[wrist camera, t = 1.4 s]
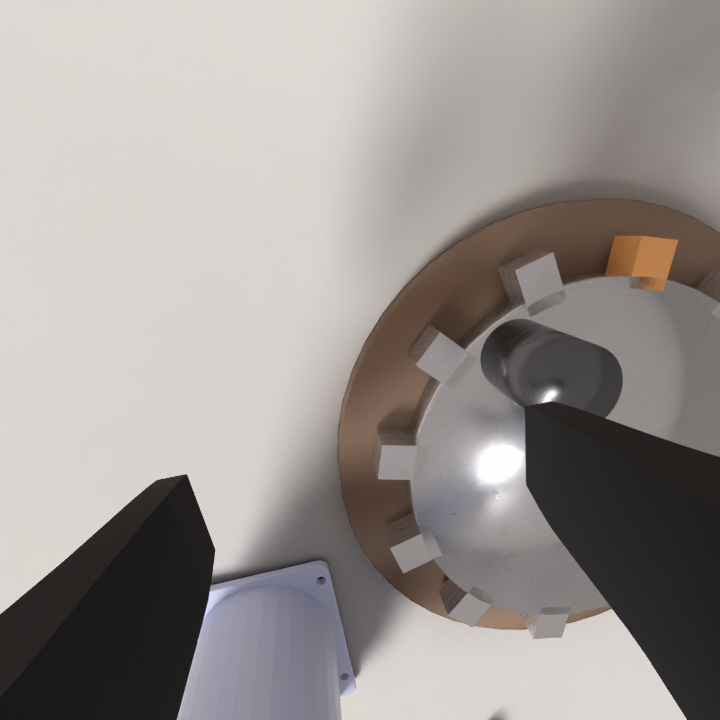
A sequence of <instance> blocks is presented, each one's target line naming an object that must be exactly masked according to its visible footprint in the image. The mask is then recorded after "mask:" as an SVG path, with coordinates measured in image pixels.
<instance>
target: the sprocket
mask: <svg viewBox="0 0 720 720" xmlns="http://www.w3.org/2000/svg"><path fill="white" fill-rule="evenodd" d="M677 243H678V240H675V239H666V238H657V237H648V236H614V240H613V244H612V248H611V252H610V256H609V260H608V264H607V268H606V272H605V273H595V274H586V275H578V276H572V277H568V278H564V279H561V277H560V274H559V270H558V267H557V263H556V260H555V256H554V253H553V252H544V251H531V252H529V253H527V254H525V255H523V256H521V257H518V258H516V259H514V260H512V261H510V262H508V263H506V264H504V265H502V266H500V267H498V270H499V273H500V276H501V279H502V282H503V285H504V288H505V291H506V294H507V297H508V300H509V301H508V302H507V303H505V304H503V305H501V306H500V307H499V308H497V309H496V310H495V311H493V312H492V313H490V314H489V315H488V316H486V317H485V318H483V319H482V320H481V321H480V322H479V323H477V324H476V325H475V326H474V327H473V328H472V329H471V330H470V331H469V332H468V333H467V334H465V335H464V336H463V337H462V338H461V339H460V340H459V342H458V343H457V344H456V343H455V342H453V341H452V340H451V339H449V338H448V337H446V336H445V335H444V334H442V333H441V332H439V331H438V330H437V329H435V328H434V327H432V326H431V325H430V324H429V325H428V326H427V328H426V329H425V330H424V332H423V333H422V334H421V336H420V337H419V338H418V340H417V341H416V342H415V344H414V345H413V346H412V348H411V349H410V351H409V352H408V353H407V356H408V357H409V358H410V359H411V361H412V362H413V363H414V364H415V365H416V366H417V367H419V368H420V369H422V370H423V371H425V372H426V373H428V374H429V375H431V376H432V377H431V379H430V380H429V382H428V384H427V386H426V388H425V390H424V392H423V394H422V396H421V398H420V400H419V403H418V405H417V408H416V411H415V414H414V417H413V419H412V422H411V426H410V430H389V429H376V432H375V441H374V449H373V458H372V462H373V466H374V469H375V472H376V475H377V478H378V479H388V480H406V489H407V494H408V498H409V502H410V507H411V510H412V512H413V513H411V514H409V515H407V516H405V517H402V518H400V519H398V520H396V521H394V522H392V523H390V524H388V525H386V526H384V529H385V533H386V537H387V540H388V544H389V547H390V550H391V552H392V553H393V555H394V557H395V559H396V561H397V563H398V565H399V566H400V568H401V570H402V572H403V573H405V572H407V571H410V570H412V569H414V568H416V567H418V566H420V565H422V564H424V563H426V562H429V561H431V560H433V559H434V560H435V562H436V564H437V565H438V566H439V567H440V568H441V569H442V571H443V572H444V573H445V574H446V575H447V576H448V578H449V579H448V580H447V581H446V582H445V584H444V585H443V586H442V587H441V588H440V589H439V593H440V596H441V598H442V601H443V604H444V606H445V609H446V612H447V614H448V616H450V617H452V618H454V619H456V620H458V621H460V622H463V623H465V624H467V625H469V626H471V627H473V626H474V625H475V623H476V622H477V621H478V620H479V619H480V618H481V617H482V616H483V614H484V613H485V612H486V611H487V610H488V609H489V608H490V607H491V605H493V606H495V607H498V608H501V609H505V610H509V611H513V612H517V613H519V614H520V616H521V618H522V620H523V621H524V623H525V625H526V627H527V628H528V630H529V632H530V634H531V635H532V637H533V639H538V638H558V637H562V635H563V631H564V628H565V625H566V621H567V618H568V614H571V613H578V612H583V611H588V610H593V609H596V608H600V607H603V606H606V605H609V604H608V603H607V601H606V600H605V599H604V597H603V596H602V595H601V593H600V592H599V591H598V590H597V588H596V587H595V586H594V584H593V583H592V582H591V580H590V579H589V578H588V576H587V575H586V574H585V572H584V571H583V570H582V569H581V567H580V566H579V565H578V563H577V562H576V561H575V559H574V558H573V557H572V555H571V554H570V553H569V551H568V550H567V549H566V547H565V546H564V545H563V543H562V542H561V541H560V539H559V538H558V537H557V535H556V534H555V533H554V531H553V530H552V528H551V527H550V526H549V524H548V522H547V521H546V519H545V517H544V516H543V514H542V512H541V511H540V509H539V507H538V505H537V504H536V502H535V500H534V498H533V496H532V495H531V493H530V491H529V489H528V488H527V486H526V459H525V406H530V405H535V404H540V403H545V402H550V401H554V402H558V403H562V404H565V405H568V406H571V407H575V408H578V409H580V410H583V411H586V412H589V413H592V414H595V415H598V416H600V417H603V418H606V419H609V420H612V421H614V422H617V423H620V424H623V425H626V426H628V427H631V428H634V429H637V430H640V431H642V432H645V433H648V434H651V435H654V436H657V437H660V438H663V439H665V440H668V441H671V442H674V443H677V444H680V445H683V446H686V447H689V448H693V449H696V450H699V451H702V452H705V453H709V454H712V455H715V456H718V457H720V270H713V269H712V270H711V271H710V272H709V273H708V275H707V276H706V277H705V278H704V279H703V280H702V282H701V283H700V284H699V285H698V286H697V287H696V289H694V288H691V287H689V286H686V285H683V284H680V283H677V282H674V281H670V280H667V277H668V274H669V270H670V267H671V264H672V260H673V257H674V253H675V250H676V246H677Z"/></svg>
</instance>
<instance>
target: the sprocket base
mask: <svg viewBox="0 0 720 720" xmlns="http://www.w3.org/2000/svg"><path fill="white" fill-rule="evenodd" d="M614 236H648V237H657V238H666V239H675V240H678V243H677V246H676V250H675V253H674V257H673V260H672V264H671V267H670V270H669V274H668V277H667V280H670V281H674V282H677V283H680V284H683V285H686V286H689V287H691V288H694V289H696V287H697V286H698V285H699V284H700V283H701V282H702V280H703V279H704V278H705V277H706V276H707V275H708V273H709V272H710V271H711V270H712V269H713V270H720V233H718V232H717V231H715V230H713V229H712V228H710V227H709V226H707V225H705V224H704V223H702V222H700V221H699V220H697V219H695V218H694V217H691V216H688V215H686V214H683V213H681V212H678V211H676V210H673V209H671V208H668V207H665V206H660V205H655V204H651V203H646V202H641V201H636V200H618V199H596V200H586V201H576V202H567V203H559V204H552V205H548V206H544V207H540V208H536V209H532V210H527V211H523V212H520V213H517V214H515V215H512V216H510V217H507V218H505V219H502V220H500V221H497V222H495V223H492V224H490V225H487V226H486V227H484V228H482V229H480V230H479V231H477V232H475V233H473V234H471V235H470V236H468V237H466V238H464V239H462V240H461V241H459V242H457V243H456V244H455V245H453V246H452V247H451V248H449V249H448V250H446V251H445V252H444V253H442V254H441V255H440V256H438V257H437V258H436V259H434V260H433V261H432V262H430V263H429V264H428V265H427V266H426V267H425V268H424V269H423V270H422V271H421V272H420V273H419V274H418V275H417V276H415V277H414V278H413V279H412V280H411V281H410V282H409V283H408V284H407V285H406V286H405V287H404V288H403V289H402V291H401V292H400V293H399V294H398V296H397V297H396V298H395V299H394V300H393V302H392V303H391V304H390V305H389V307H388V308H387V309H386V310H385V312H384V313H383V314H382V316H381V317H380V319H379V321H378V322H377V324H376V325H375V327H374V329H373V330H372V332H371V333H370V335H369V337H368V338H367V340H366V341H365V343H364V346H363V348H362V350H361V352H360V354H359V357H358V359H357V361H356V363H355V365H354V367H353V370H352V372H351V375H350V379H349V382H348V385H347V388H346V392H345V395H344V398H343V402H342V409H341V415H340V421H339V427H338V465H339V473H340V480H341V488H342V494H343V500H344V503H345V506H346V510H347V513H348V517H349V520H350V524H351V526H352V528H353V530H354V532H355V535H356V537H357V539H358V541H359V543H360V545H361V547H362V549H363V550H364V552H365V553H366V555H367V556H368V558H369V559H370V561H371V562H372V564H373V565H374V566H375V568H376V569H377V570H378V571H379V572H380V573H381V574H382V575H383V576H384V577H385V579H386V580H387V581H388V582H389V583H390V584H391V585H392V586H393V587H395V588H396V589H397V590H398V591H400V592H401V593H402V594H404V595H405V596H406V597H407V598H409V599H410V600H411V601H413V602H415V603H417V604H418V605H420V606H422V607H424V608H425V609H427V610H429V611H431V612H433V613H436V614H438V615H441V616H443V617H446V618H448V619H451V620H453V621H457V622H460V621H458V620H456V619H454V618H452V617H450V616H448V614H447V612H446V609H445V606H444V604H443V601H442V598H441V596H440V593H439V589H440V588H441V587H442V586H443V585H444V584H445V582H446V581H447V580H448V579H449V578H448V576H447V575H446V574H445V573H444V572H443V571H442V569H441V568H440V567H439V566H438V565H437V564H436V562H435V560H434V559H433V560H431V561H429V562H426V563H424V564H422V565H420V566H418V567H416V568H414V569H412V570H410V571H407V572H405V573H403V572H402V570H401V568H400V566H399V565H398V563H397V561H396V559H395V557H394V555H393V553H392V552H391V550H390V547H389V544H388V540H387V537H386V533H385V529H384V526H386V525H388V524H390V523H392V522H394V521H396V520H398V519H400V518H402V517H405V516H407V515H409V514H411V513H413V512H412V510H411V507H410V502H409V498H408V494H407V489H406V480H388V479H378V478H377V475H376V472H375V469H374V466H373V462H372V458H373V449H374V441H375V432H376V429H389V430H410V426H411V422H412V419H413V417H414V414H415V411H416V408H417V405H418V403H419V400H420V398H421V396H422V394H423V392H424V390H425V388H426V386H427V384H428V382H429V380H430V379H431V377H432V376H431V375H429V374H428V373H426V372H425V371H423V370H422V369H420V368H419V367H417V366H416V365H415V364H414V363H413V362H412V361H411V359H410V358H409V357H408V356H407V353H408V352H409V351H410V349H411V348H412V346H413V345H414V344H415V342H416V341H417V340H418V338H419V337H420V336H421V334H422V333H423V332H424V330H425V329H426V328H427V326H428V325H429V324H430V325H431V326H432V327H434V328H435V329H437V330H438V331H439V332H441V333H442V334H444V335H445V336H446V337H448V338H449V339H451V340H452V341H453V342H455V343H456V344H457V343H458V342H459V340H460V339H461V338H462V337H463V336H464V335H465V334H467V333H468V332H469V331H470V330H471V329H472V328H473V327H474V326H475V325H476V324H477V323H479V322H480V321H481V320H482V319H483V318H485V317H486V316H488V315H489V314H490V313H492V312H493V311H495V310H496V309H497V308H499V307H500V306H501V305H503V304H505V303H507V302H508V301H509V300H508V297H507V294H506V291H505V288H504V285H503V282H502V279H501V276H500V273H499V270H498V267H500V266H502V265H504V264H506V263H508V262H510V261H512V260H514V259H516V258H518V257H521V256H523V255H525V254H527V253H529V252H531V251H544V252H553V253H554V256H555V260H556V263H557V267H558V270H559V274H560V277H561V279H564V278H568V277H572V276H578V275H586V274H595V273H605V272H606V268H607V264H608V260H609V256H610V252H611V248H612V244H613V240H614ZM610 609H612V608H611V607H610V605H606V606H603V607H600V608H596V609H593V610H588V611H583V612H578V613H571V614H568V618H567V621H566V624H567V623H572V622H575V621H579V620H582V619H585V618H588V617H592V616H595V615H598V614H600V613H603V612H605V611H608V610H610ZM461 623H463V622H461ZM474 626H477V627H485V628H493V629H515V630H525V629H528V628H527V627H526V625H525V623H524V621H523V620H522V618H521V616H520V614H519V613H517V612H513V611H509V610H505V609H501V608H498V607H495V606H493V605H491V607H490V608H489V609H488V610H487V611H486V612H485V613H484V614H483V616H482V617H481V618H480V619H479V620H478V621H477V622H476V623H475V625H474Z"/></svg>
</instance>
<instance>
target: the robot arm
mask: <svg viewBox="0 0 720 720" xmlns="http://www.w3.org/2000/svg"><path fill="white" fill-rule="evenodd" d="M525 459H526V486H527V488H528V489H529V491H530V493H531V495H532V496H533V498H534V500H535V502H536V504H537V505H538V507H539V509H540V511H541V512H542V514H543V516H544V517H545V519H546V521H547V522H548V524H549V526H550V527H551V528H552V530H553V531H554V533H555V534H556V535H557V537H558V538H559V539H560V541H561V542H562V543H563V545H564V546H565V547H566V549H567V550H568V551H569V553H570V554H571V555H572V557H573V558H574V559H575V561H576V562H577V563H578V565H579V566H580V567H581V569H582V570H583V571H584V572H585V574H586V575H587V576H588V578H589V579H590V580H591V582H592V583H593V584H594V586H595V587H596V588H597V590H598V591H599V592H600V593H601V595H602V596H603V597H604V599H605V600H606V601H607V603H608V604H609V605H610V607H611V608H612V609H613V610H614V612H615V613H616V614H617V616H618V617H619V618H620V620H621V621H622V622H623V624H624V625H625V626H626V628H627V629H628V630H629V632H630V633H631V635H632V636H633V637H634V639H635V640H636V642H637V643H638V644H639V646H640V647H641V649H642V650H643V652H644V653H645V654H646V656H647V657H648V659H649V661H650V662H651V664H652V665H653V667H654V668H655V670H656V672H657V673H658V675H659V676H660V678H661V679H662V681H663V683H664V684H665V686H666V687H667V689H668V690H669V692H670V693H671V695H672V697H673V698H674V700H675V701H676V703H677V704H678V706H679V708H680V709H681V711H682V712H683V714H684V715H685V717H686V719H687V720H720V457H718V456H715V455H712V454H709V453H705V452H702V451H699V450H696V449H693V448H689V447H686V446H683V445H680V444H677V443H674V442H671V441H668V440H665V439H663V438H660V437H657V436H654V435H651V434H648V433H645V432H642V431H640V430H637V429H634V428H631V427H628V426H626V425H623V424H620V423H617V422H614V421H612V420H609V419H606V418H603V417H600V416H598V415H595V414H592V413H589V412H586V411H583V410H580V409H578V408H575V407H571V406H568V405H565V404H562V403H558V402H554V401H550V402H545V403H540V404H535V405H530V406H525ZM214 555H215V548H214V545H213V543H212V540H211V537H210V535H209V532H208V529H207V527H206V524H205V521H204V519H203V516H202V513H201V511H200V508H199V505H198V503H197V500H196V497H195V495H194V492H193V489H192V487H191V484H190V481H189V479H188V476H187V474H185V475H180V476H175V477H170V478H165V479H160V480H157V481H155V482H154V483H153V484H151V485H150V486H149V487H147V488H146V489H145V490H144V491H143V492H141V493H140V494H139V495H138V496H137V497H135V498H134V499H133V500H132V501H131V502H130V503H129V504H127V505H126V506H125V507H124V508H123V509H122V510H121V511H120V512H118V513H117V514H116V515H115V516H114V517H113V518H112V519H111V520H110V521H108V522H107V523H106V524H105V525H104V526H103V527H102V528H101V529H100V530H98V531H97V532H96V533H95V534H94V535H93V536H92V537H91V538H89V539H88V540H87V541H86V542H85V543H84V544H83V545H82V546H80V547H79V548H78V549H77V550H76V551H75V552H74V553H73V554H71V555H70V556H69V557H68V558H67V559H66V560H65V561H63V562H62V563H61V564H60V565H59V566H58V567H56V568H55V569H54V570H53V571H52V572H50V573H49V574H48V575H47V576H46V577H44V578H43V579H42V580H41V581H40V582H38V583H37V584H36V585H35V586H34V587H33V588H31V589H30V590H29V591H28V592H27V593H25V594H24V595H23V596H22V597H21V598H19V599H18V600H17V601H16V602H15V603H14V604H12V605H11V606H10V607H9V608H8V609H6V610H5V611H4V612H3V613H2V614H0V720H342V718H341V706H340V697H341V696H345V695H349V694H351V693H353V692H354V691H355V689H356V683H355V678H354V673H353V669H352V665H351V661H350V656H349V652H348V648H347V644H346V639H345V635H344V631H343V626H342V622H341V618H340V614H339V609H338V605H337V601H336V596H335V592H334V588H333V584H332V579H331V575H330V571H329V567H328V564H327V563H326V562H325V561H321V560H319V561H313V562H309V563H305V564H301V565H296V566H292V567H288V568H283V569H279V570H275V571H271V572H266V573H262V574H258V575H253V576H249V577H245V578H241V579H236V580H232V581H228V582H224V583H219V584H215V585H211V580H212V572H213V564H214ZM319 577H324V578H323V579H318V578H319Z"/></svg>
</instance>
